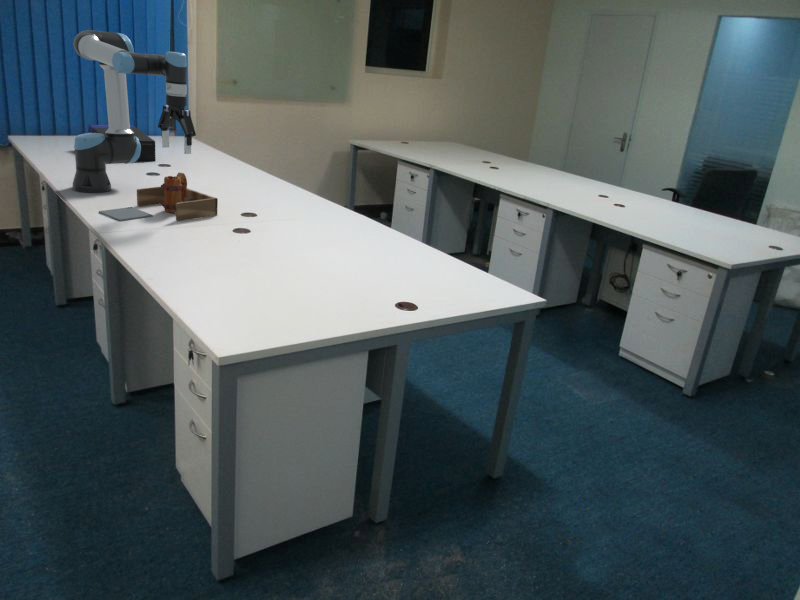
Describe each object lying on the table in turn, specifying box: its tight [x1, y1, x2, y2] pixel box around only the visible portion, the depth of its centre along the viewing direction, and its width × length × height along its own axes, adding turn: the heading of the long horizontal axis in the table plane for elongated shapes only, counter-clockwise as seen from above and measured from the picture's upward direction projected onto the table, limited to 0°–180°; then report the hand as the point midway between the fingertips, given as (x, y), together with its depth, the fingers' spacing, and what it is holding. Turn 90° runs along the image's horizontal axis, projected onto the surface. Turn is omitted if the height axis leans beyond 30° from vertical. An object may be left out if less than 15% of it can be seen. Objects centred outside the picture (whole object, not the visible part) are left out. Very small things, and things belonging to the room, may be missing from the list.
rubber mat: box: [98, 206, 153, 222], centre depth 251 cm, size 14×14×1 cm
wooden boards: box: [136, 186, 219, 222], centre depth 263 cm, size 26×19×7 cm
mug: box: [160, 171, 188, 214], centre depth 262 cm, size 15×8×15 cm, turn 168°
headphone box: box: [87, 124, 156, 163], centre depth 352 cm, size 25×35×14 cm
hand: (176, 150), depth 256 cm, fingers open, 13 cm apart
